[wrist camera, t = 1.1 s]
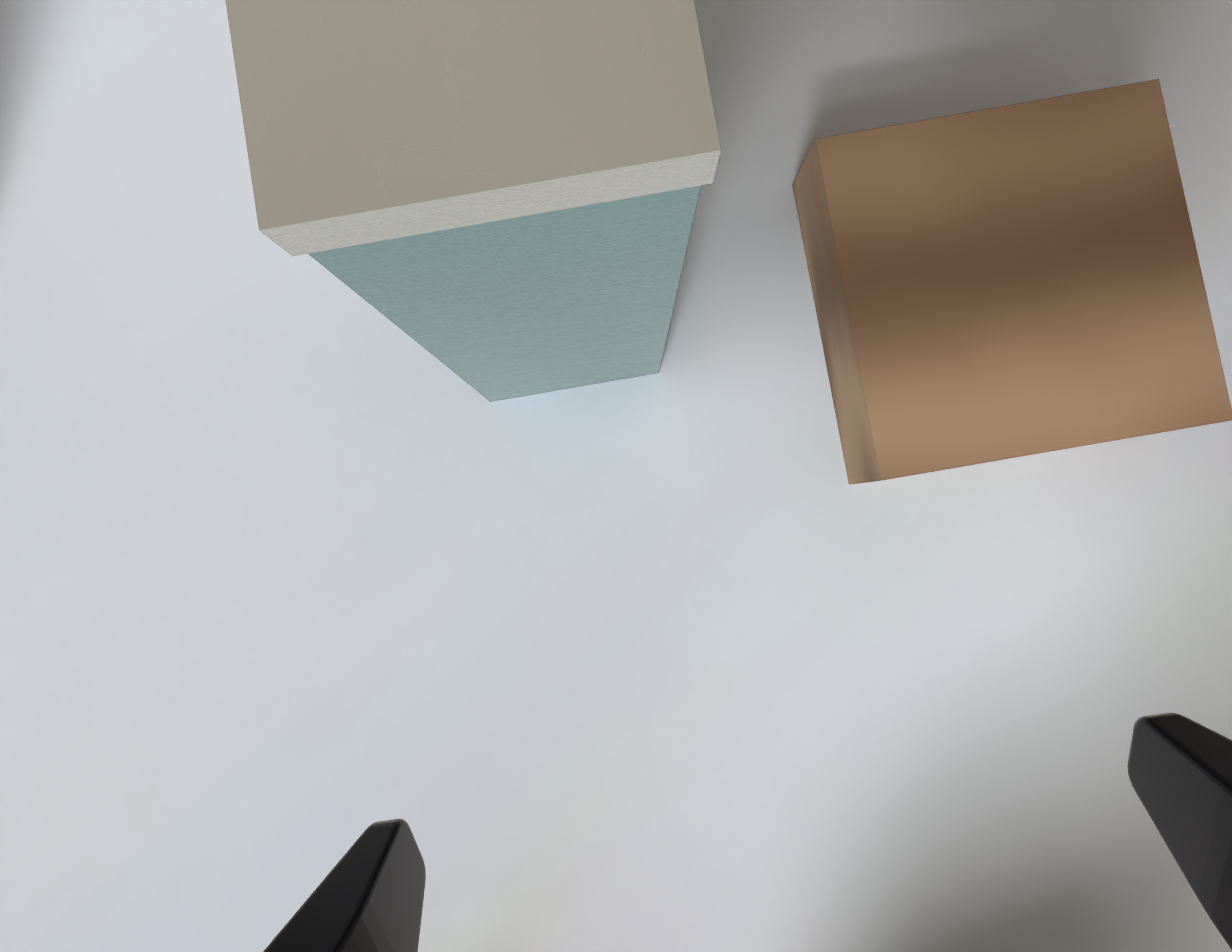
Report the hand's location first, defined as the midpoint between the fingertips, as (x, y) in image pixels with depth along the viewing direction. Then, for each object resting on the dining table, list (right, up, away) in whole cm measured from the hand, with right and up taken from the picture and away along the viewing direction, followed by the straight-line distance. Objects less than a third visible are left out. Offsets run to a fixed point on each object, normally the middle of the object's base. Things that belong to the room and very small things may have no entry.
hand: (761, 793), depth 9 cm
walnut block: (+9, +9, +12) cm, 18 cm away
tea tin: (-3, +9, +12) cm, 16 cm away
